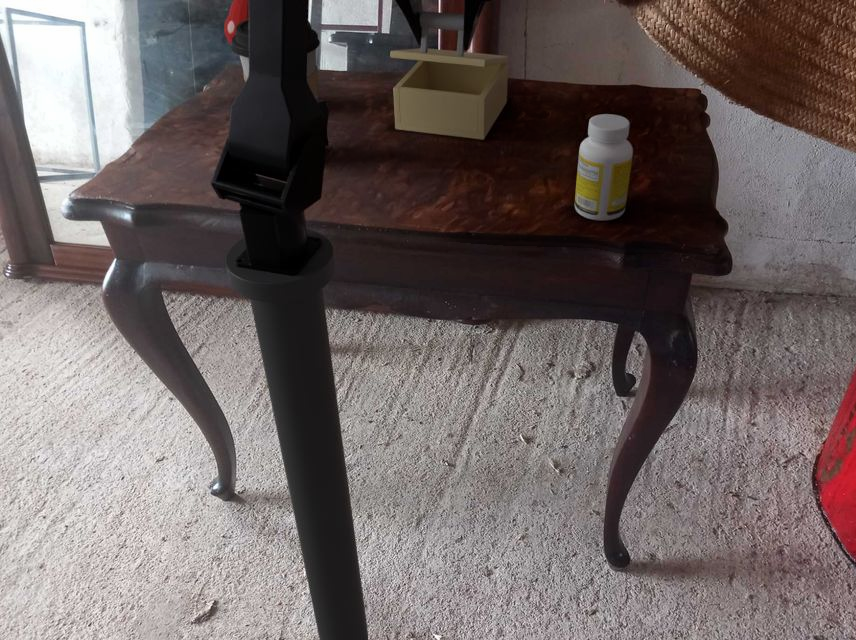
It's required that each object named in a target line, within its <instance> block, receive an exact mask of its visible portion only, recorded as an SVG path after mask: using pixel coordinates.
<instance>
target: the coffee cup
mask: <svg viewBox="0 0 856 640" xmlns="http://www.w3.org/2000/svg"><path fill="white" fill-rule="evenodd" d="M320 44H321V41H320V39H319V34H318V32H317V31H316V30H314V29H313V28H312V25H311V22H310V21H309V20H308V49H307V83H308V85H309V87H310V89H311V91H312V93H313V95H314V97H315V99H319V83H318V77H319V75H318V73H319V72H318V66H317V51H316V50H317V49H318V47H320ZM230 47H231V51H232V52H233V53H235V54H236V55H238V56H239V59H240V62H241V66H242V70H243V73H242V74H243V79H244V83H245V82H246V80H247V78H248V74H249V19H247V20H245V21H242V22H241V23H239V24H238V25H237V26H236V34H235V35H234V36H233V38H232V44H231V46H230Z"/></svg>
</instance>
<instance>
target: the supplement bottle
mask: <svg viewBox="0 0 856 640" xmlns="http://www.w3.org/2000/svg"><path fill="white" fill-rule="evenodd" d="M629 133H630V120H629V119H627V117H624V116H622V115H619V114H610V113H603V114H597V115H593V116H591V118H590V119H589V121H588V128H587V137H585V138H584V139H583V140H582V141H581V143H580V146H579V149H578V150H579V151H578V160H577V161H578V162H577V169H576V170H577V172H576V181H575V194H574V209H575V212H576V213H578V214H579V215H580V216H582V217H583V218H586V219H589V220H592V221H612V220H615V219H618V218H620V217H621V216H623V214H624V213H625V211H626V206H627V202H628V201H627V199H628V191H629V186H630V185H629V184H630V177H631V170H632V163H633V156H634V155H633V154H634V148H633V145H632V144H631V143H630V141H629V140H628V138H629Z"/></svg>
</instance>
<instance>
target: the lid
mask: <svg viewBox="0 0 856 640" xmlns="http://www.w3.org/2000/svg"><path fill="white" fill-rule="evenodd" d="M420 26H421V27H422V35H421V46H420V48H408V49H393V50H390V58H391V59H399V60H401V59H402V60H410V61H411V60H412V61H417V62H418V61H428V62H438V63H448V64H458V65H468V66H478V67H487V66H492V65H498V64H503V63H508V64H509V55H500V54H491V53H481V52H470V51H465V50H464V41H463V32H464V14H460V13H449V12H438V11H427V10H423V11H422V12H421V14H420ZM430 29H432V30H433V29H435V30H445V31H455V32H456V31H457V43H456V45H457V46H456V50H449V49H439V48H429V35H430V33H429V32H430Z"/></svg>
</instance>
